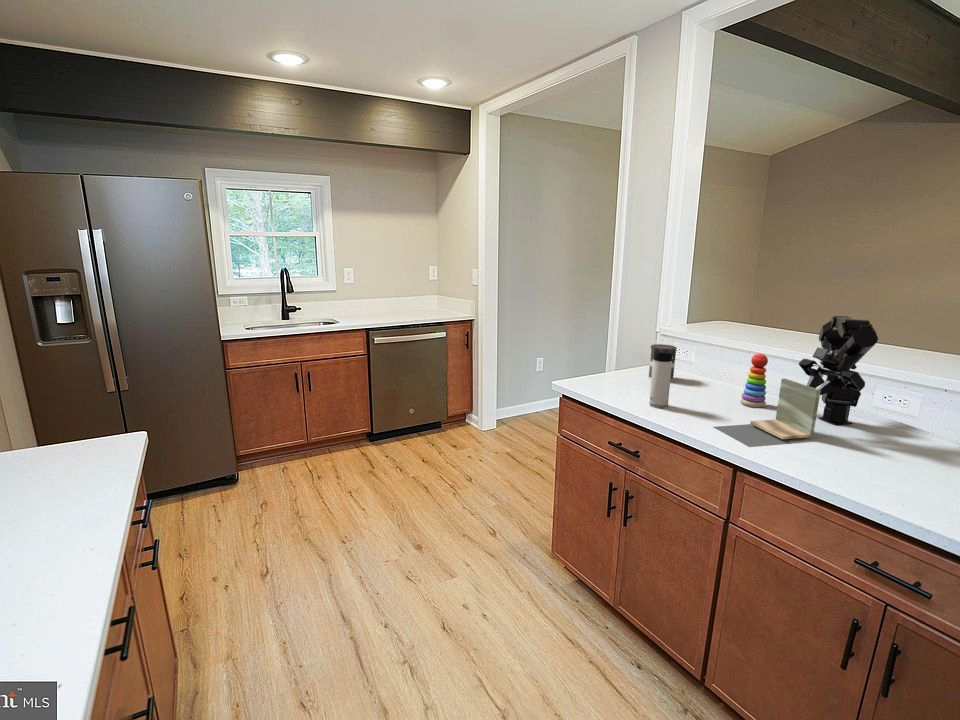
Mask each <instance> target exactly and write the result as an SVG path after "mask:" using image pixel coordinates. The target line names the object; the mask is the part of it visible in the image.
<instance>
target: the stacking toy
mask: <svg viewBox="0 0 960 720" xmlns="http://www.w3.org/2000/svg"><path fill="white" fill-rule="evenodd" d="M750 361H751V364H752V366H751V367H749V372H748V374H747V376H748V377H747V378H746V382H745V384H744V386H745V387H744V389H743V393H742V394H741V398H740V402H739V403H740V404H742V405H743V406H746V407H749V408H763V407H765V406H766V405H767V403H766V398H767V397H766V394H767V392H766V389H767V386H766V384H767V380H766V378H767V375H766V373H767V368H766V366H767V364H768V362H769V358H768V357H767V355H765V354H763V353H756V354H754V355H752V357H751V360H750Z"/></svg>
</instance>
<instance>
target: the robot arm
mask: <svg viewBox="0 0 960 720" xmlns="http://www.w3.org/2000/svg"><path fill="white" fill-rule="evenodd" d="M818 335H819V336H818V341H819V342H820V346H821V347H820V346H819V347H818V346H817V347H816V350H815V351H814V353H813V355H812V358H814V359H817V360H819V363H820V365H821V366H820V365H819V364H818V363H817V361H815V360H813V359H808V358H802V359H801V360H800V361H798V365H799V367H800V368H801V369H802V371H803V372H804V374H805V375H806V376H808V377H809V379H808V381H807V384H806V386H809V387H812V388H815V389H818V390H821V392H820V396H821V401H822V402H823V404H825V406H824V407H823V413H822V416H819V417H818V419H819V420H821V421H823V422H827V423H829V424H831V425H834V426H835V425H836V426H839V425H840V426H841V425H842V426H843V425H852V424H853V421H850V420H849V414H850V410H851V407H855V408H856V407H857V406H858V402H859V399H860V397H861V395H862V392H861V391H862V390H863V389H864V388H865V386H866V382H865V380H864V378H863V377H862V376H861V374H860V373H859V372H858V371H855V370H856V369H858V368H857V367H858V366H856V364H857V363H859V361H860V360H861V359H862V358H863V357H865V356H866V354H867V353H868V352H869V351H870V350H871V349H872V348H873V347H874V346H875V345H876V344H877V343H878V341H879V337H878V334H877V331H876V329H875V328H874V326H873V324H872V323H871V321H870V320H868V319H854V318H852V317H851V316H846V315H833V316H831V320H829V321H828V322H826V323H825V324H823V325H822V327H821V328H820V331H819V333H818ZM851 369H852V370H851ZM824 376H826V379H825V380H824V378H823V377H824Z"/></svg>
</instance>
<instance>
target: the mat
mask: <svg viewBox="0 0 960 720" xmlns="http://www.w3.org/2000/svg"><path fill="white" fill-rule="evenodd" d="M713 428H714V429H716V430H717V431H719V432H721V433H723V434H724V435H727V436H728V437H729V438H732V439H733V440H735V441H737V442H739V443H741V444H742V445H744V446H747V447H748V448H755V447H756V448H757V447H765V446H766V447H767V446H778V445H779V446H780V445H790V444H793V443H792V442H791V441H788V440H787V439H785V440H784V441H783V440H781V439H780V438H779V437H777V436H775V435H773V434H771V433H769V432H766V431H764V430H762V429H760V428H758V427H754V426H753V425H752V424H750V423H749V424H747V423H746V424H736V425H735V424H734V425H719V426H713Z"/></svg>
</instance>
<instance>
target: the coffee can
mask: <svg viewBox="0 0 960 720" xmlns="http://www.w3.org/2000/svg"><path fill="white" fill-rule="evenodd" d="M677 349H678V348H677V347H676V346H674V345H671V344H670V345H669V344H662V343H661V344H660V343H657V344H651V345H650V355H649V367H648V377H649V378H650V379H649V378H648V379H649V380H651V378H652V366H653V357H654V352H655V351H658V352H670V353H673V355H672V368H671V378H670V380H672V381H674V374H675V363H676V362H675V361H676V354H677Z"/></svg>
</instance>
